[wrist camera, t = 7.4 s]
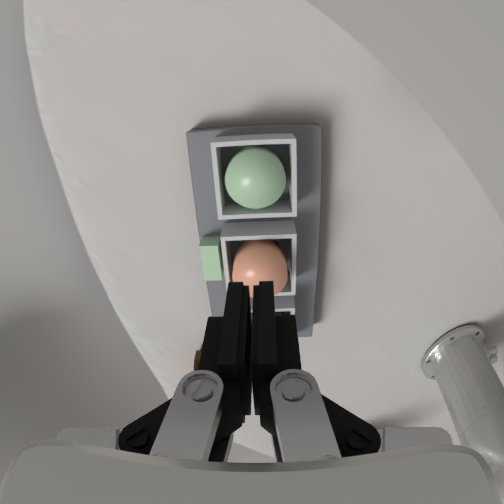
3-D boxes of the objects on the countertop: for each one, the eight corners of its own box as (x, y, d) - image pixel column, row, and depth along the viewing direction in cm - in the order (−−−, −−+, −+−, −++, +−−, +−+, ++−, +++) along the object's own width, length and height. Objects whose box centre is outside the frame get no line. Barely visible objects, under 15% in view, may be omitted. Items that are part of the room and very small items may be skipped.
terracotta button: (285, 235, 30) (287, 251, 27) (285, 279, 32) (287, 297, 30) (232, 237, 30) (229, 254, 28) (236, 281, 33) (234, 299, 30)
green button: (282, 143, 27) (285, 150, 24) (284, 195, 29) (286, 207, 27) (226, 145, 27) (222, 152, 25) (230, 197, 30) (227, 210, 27)
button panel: (190, 129, 28) (178, 138, 24) (317, 123, 28) (328, 131, 23) (218, 328, 41) (213, 356, 37) (310, 325, 40) (314, 353, 36)
